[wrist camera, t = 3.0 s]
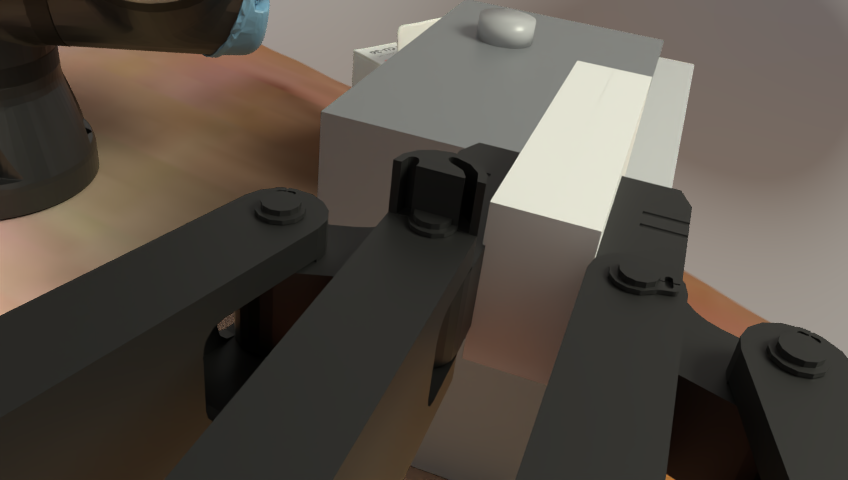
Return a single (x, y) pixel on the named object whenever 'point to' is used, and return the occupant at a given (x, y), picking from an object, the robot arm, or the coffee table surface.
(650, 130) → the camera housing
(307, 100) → the coffee table surface
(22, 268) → the coffee table surface
